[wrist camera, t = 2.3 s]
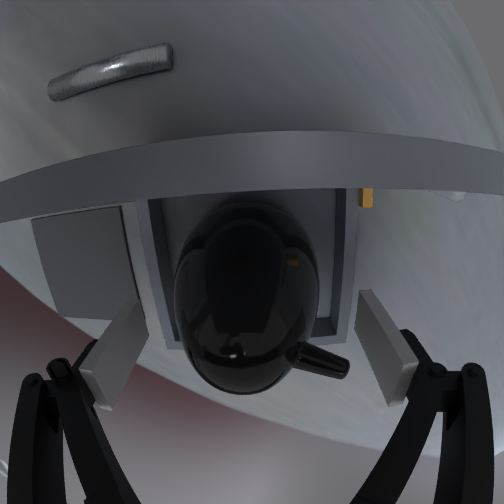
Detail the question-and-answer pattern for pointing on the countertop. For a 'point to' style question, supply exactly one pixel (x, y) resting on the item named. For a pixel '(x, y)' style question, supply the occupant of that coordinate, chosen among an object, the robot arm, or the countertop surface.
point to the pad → (86, 262)
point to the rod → (111, 70)
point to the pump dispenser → (250, 300)
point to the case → (256, 189)
